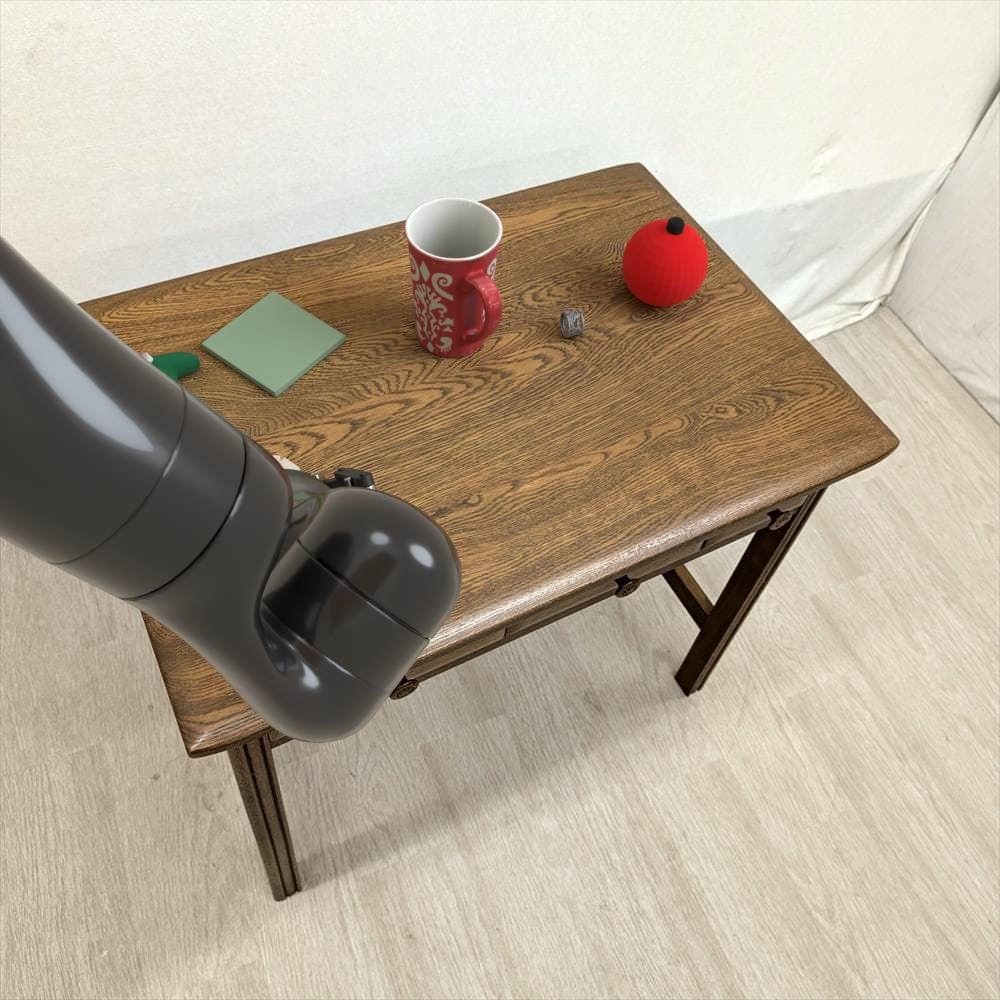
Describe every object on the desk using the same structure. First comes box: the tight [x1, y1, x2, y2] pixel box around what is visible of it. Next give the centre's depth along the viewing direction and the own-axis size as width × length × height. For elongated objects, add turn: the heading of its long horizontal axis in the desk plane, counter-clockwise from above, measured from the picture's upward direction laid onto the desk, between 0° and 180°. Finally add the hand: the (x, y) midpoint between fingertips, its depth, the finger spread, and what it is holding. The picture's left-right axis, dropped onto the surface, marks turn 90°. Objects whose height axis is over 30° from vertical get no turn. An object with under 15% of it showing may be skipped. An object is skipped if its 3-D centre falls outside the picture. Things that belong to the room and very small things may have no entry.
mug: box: [404, 196, 504, 359], centre depth 87 cm, size 13×9×14 cm
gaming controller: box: [140, 351, 219, 413], centre depth 84 cm, size 9×4×6 cm
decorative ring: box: [559, 308, 585, 339], centre depth 93 cm, size 3×2×3 cm
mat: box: [201, 290, 346, 398], centre depth 90 cm, size 10×10×1 cm
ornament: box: [621, 216, 709, 308], centre depth 95 cm, size 9×9×10 cm
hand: (262, 499), depth 68 cm, fingers closed on ring, 6 cm apart
